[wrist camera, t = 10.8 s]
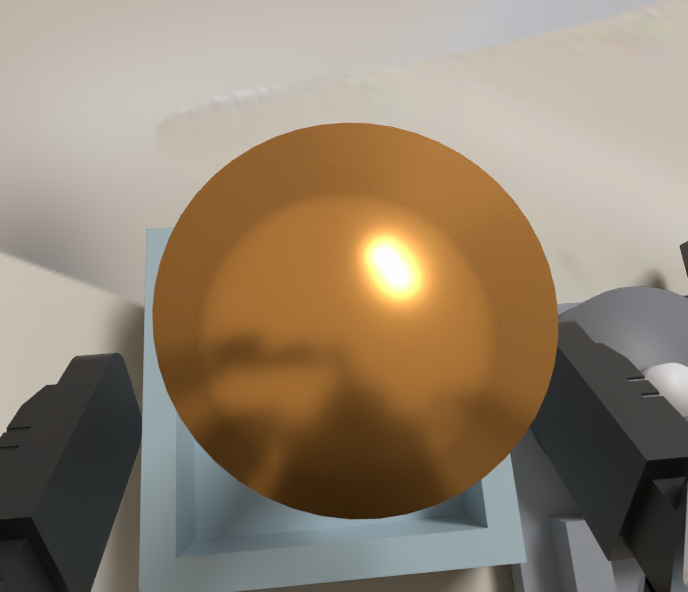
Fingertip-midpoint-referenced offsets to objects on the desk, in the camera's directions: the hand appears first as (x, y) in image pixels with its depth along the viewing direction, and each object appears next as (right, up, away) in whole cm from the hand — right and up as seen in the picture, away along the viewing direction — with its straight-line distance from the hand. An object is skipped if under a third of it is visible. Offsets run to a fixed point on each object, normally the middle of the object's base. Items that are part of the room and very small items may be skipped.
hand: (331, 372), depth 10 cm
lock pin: (0, -2, +8) cm, 8 cm away
